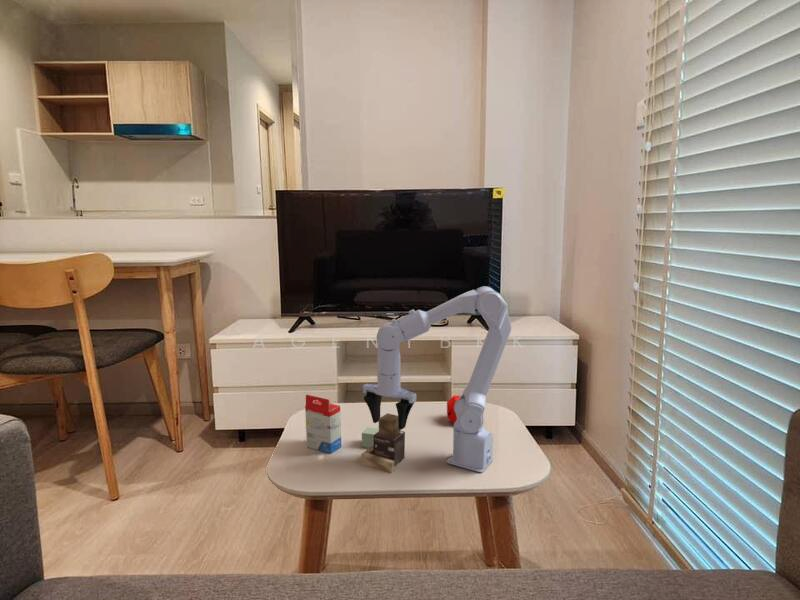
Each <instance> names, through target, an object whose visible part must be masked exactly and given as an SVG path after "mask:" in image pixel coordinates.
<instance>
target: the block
mask: <svg viewBox="0 0 800 600" xmlns="http://www.w3.org/2000/svg"><path fill="white" fill-rule="evenodd" d="M377 432H379V427H378V428H377V427H370V426H367V427H366V428H364V429H363V431H362V432H361V447H362V448H368V449H369V448H371V447H372V446H374V442H373V440H374V435H375V434H376V433H377Z"/></svg>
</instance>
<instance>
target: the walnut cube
mask: <svg viewBox="0 0 800 600" xmlns="http://www.w3.org/2000/svg"><path fill="white" fill-rule="evenodd" d="M378 429H379V434H382V435H385V436H389V437H393V436H395V435H396V434H398V433H399V432H401V431H402V430H400V429H399V427H398V414H397V415H395V414H392V413H385V414H384V415H382V416H380V418H379V421H378Z"/></svg>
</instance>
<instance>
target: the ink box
mask: <svg viewBox="0 0 800 600" xmlns="http://www.w3.org/2000/svg"><path fill="white" fill-rule="evenodd" d="M304 409H305V410H304V411H305V429H306V430H305V432H306V433H305V434H306V435H305V437H306V439H305V440H306V447H307V448H310V449H313V450H316V451H321V452H324V453H327V454H332V453H334V452H335V451H337V450H338V449H340V448H341V447H342V424H341V423H342V422H341V419H342V418H341V405H339V404H334V403H330V399H328V398H323V397H318V396H314V395H310V394H305V405H304Z"/></svg>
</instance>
